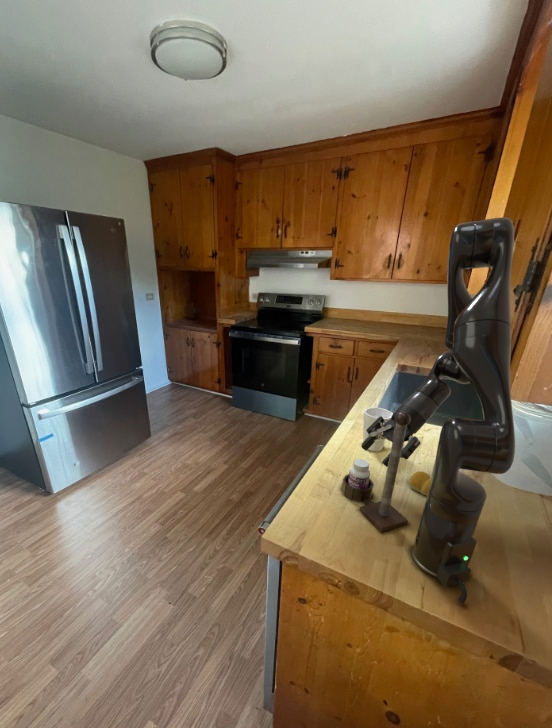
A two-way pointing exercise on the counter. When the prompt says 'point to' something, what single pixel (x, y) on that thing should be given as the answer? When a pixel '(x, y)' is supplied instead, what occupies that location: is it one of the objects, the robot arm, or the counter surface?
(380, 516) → the towel stand
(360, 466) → the pill bottle
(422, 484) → the bread roll
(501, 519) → the counter surface
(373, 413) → the foam cup
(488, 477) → the counter surface
